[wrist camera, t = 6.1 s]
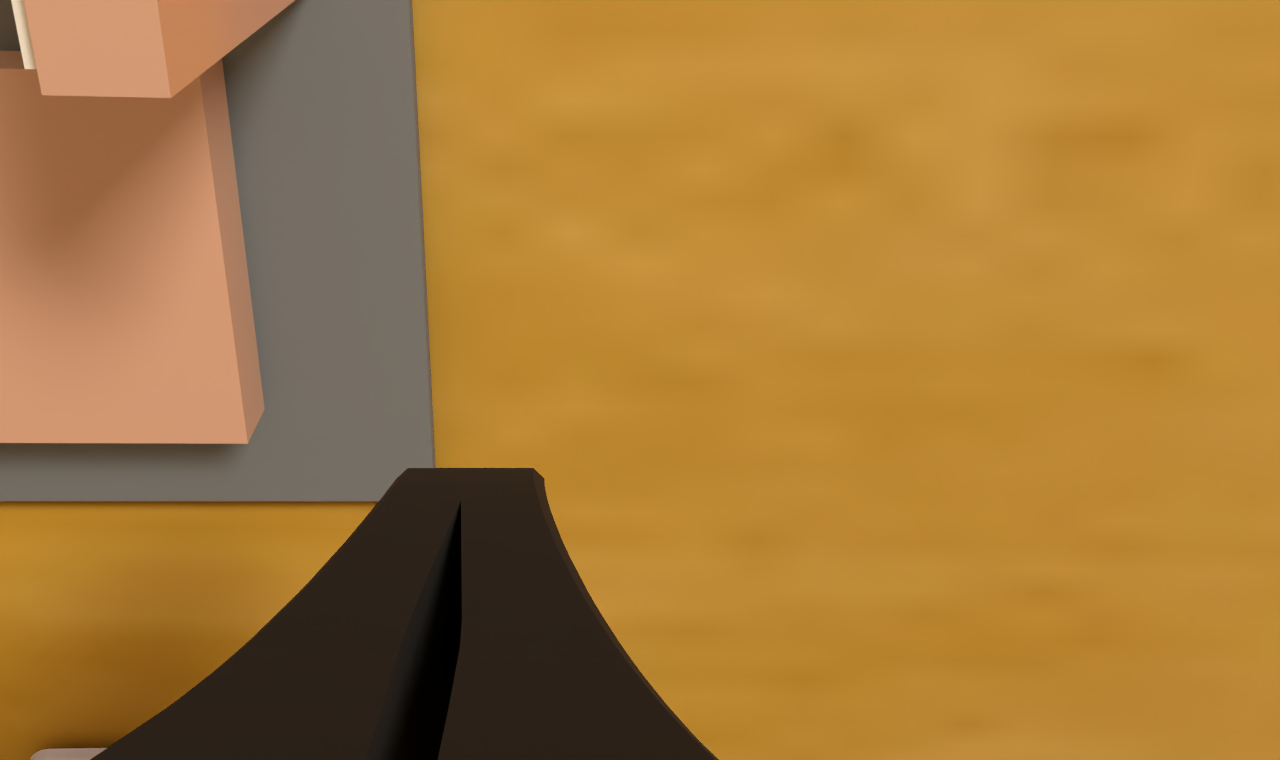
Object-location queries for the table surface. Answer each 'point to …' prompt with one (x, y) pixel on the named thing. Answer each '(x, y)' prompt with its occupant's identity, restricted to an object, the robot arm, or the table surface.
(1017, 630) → the table surface
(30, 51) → the tile
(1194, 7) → the table surface
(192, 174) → the tile
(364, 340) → the mat
